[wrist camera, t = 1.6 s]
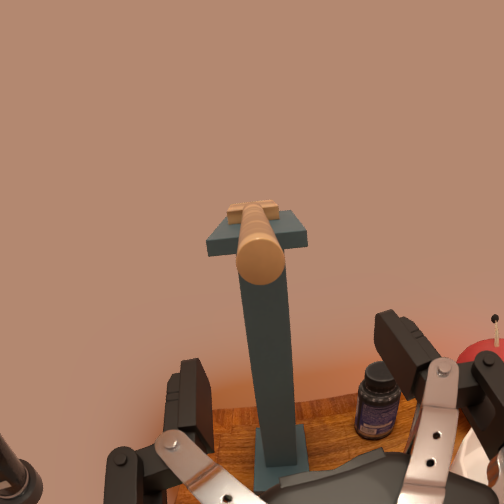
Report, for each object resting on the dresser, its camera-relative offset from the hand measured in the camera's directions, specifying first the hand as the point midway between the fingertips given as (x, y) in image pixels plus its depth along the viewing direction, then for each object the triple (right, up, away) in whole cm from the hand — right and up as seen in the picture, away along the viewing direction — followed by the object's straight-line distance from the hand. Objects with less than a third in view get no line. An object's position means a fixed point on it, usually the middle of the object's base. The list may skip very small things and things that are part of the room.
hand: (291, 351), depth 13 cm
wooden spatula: (-1, +6, +10) cm, 11 cm away
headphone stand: (+2, -24, +22) cm, 32 cm away
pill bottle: (+16, -22, +25) cm, 37 cm away
